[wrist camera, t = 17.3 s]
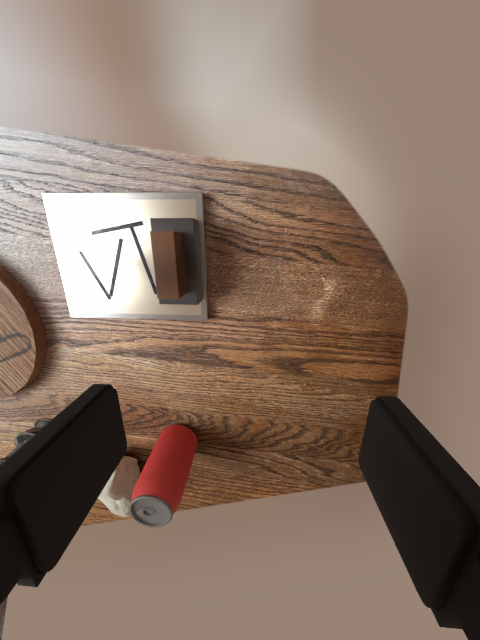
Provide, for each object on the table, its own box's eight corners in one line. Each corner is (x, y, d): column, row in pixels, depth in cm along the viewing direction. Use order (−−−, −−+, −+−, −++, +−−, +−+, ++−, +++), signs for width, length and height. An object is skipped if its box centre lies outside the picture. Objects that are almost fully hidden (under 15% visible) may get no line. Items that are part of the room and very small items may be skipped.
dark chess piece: (60, 447, 43) (-9, 520, 32) (30, 433, 43) (-52, 503, 31) (69, 426, 41) (-2, 495, 30) (37, 411, 41) (-47, 476, 29)
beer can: (155, 425, 40) (116, 498, 29) (191, 419, 39) (165, 491, 28) (169, 454, 42) (136, 532, 31) (203, 448, 41) (183, 527, 30)
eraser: (158, 220, 28) (135, 214, 23) (198, 220, 28) (184, 214, 23) (166, 299, 32) (147, 311, 26) (202, 300, 31) (191, 312, 26)
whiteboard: (203, 193, 28) (201, 191, 27) (209, 318, 33) (207, 321, 32) (47, 194, 29) (40, 193, 28) (75, 315, 34) (70, 317, 33)
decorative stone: (74, 461, 42) (65, 498, 33) (126, 430, 46) (130, 456, 37) (102, 507, 44) (100, 554, 35) (149, 474, 48) (158, 508, 39)
